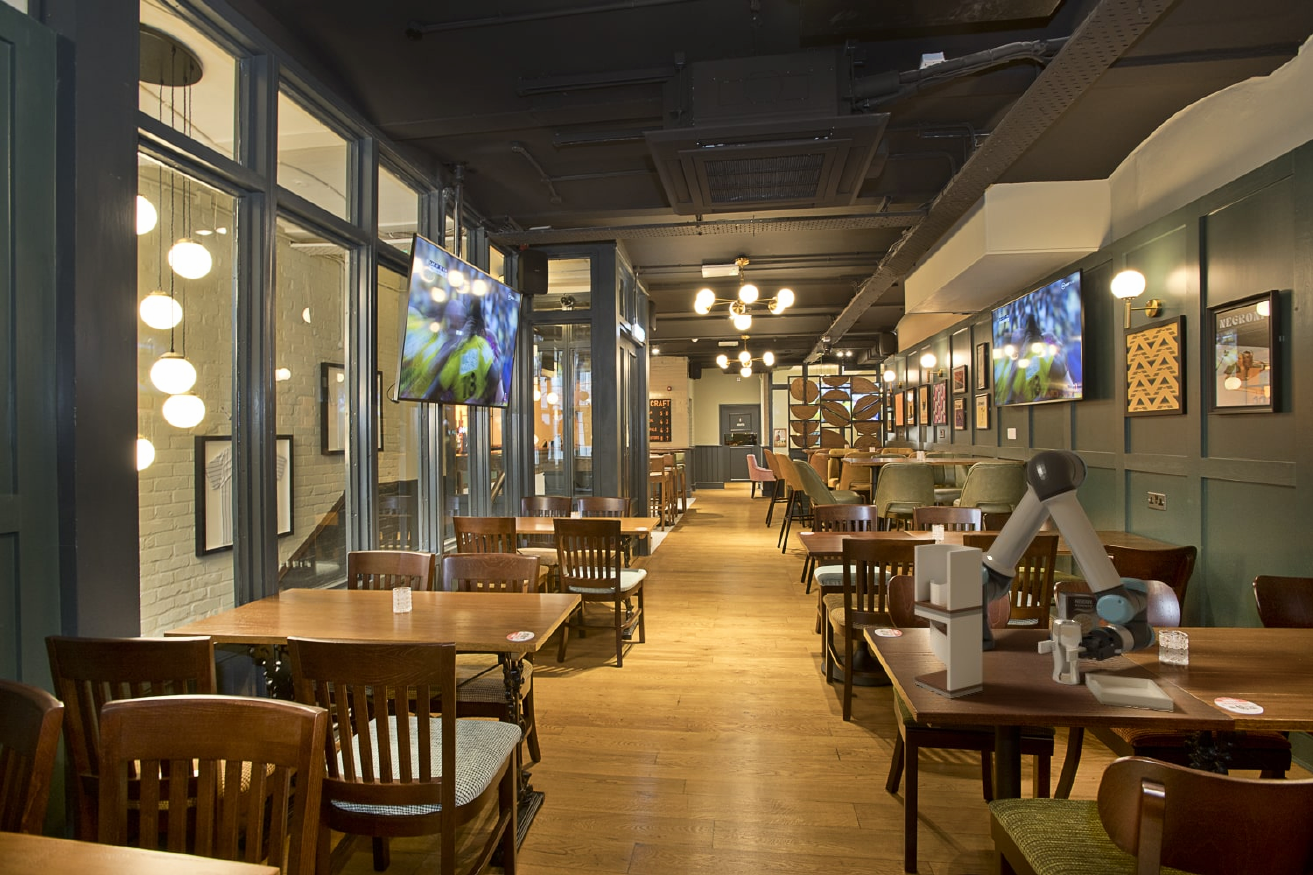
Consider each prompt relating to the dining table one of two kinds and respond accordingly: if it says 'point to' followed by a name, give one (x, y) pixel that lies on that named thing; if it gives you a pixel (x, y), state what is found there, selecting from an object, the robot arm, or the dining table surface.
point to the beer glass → (1063, 639)
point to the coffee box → (1079, 609)
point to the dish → (1128, 692)
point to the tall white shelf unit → (951, 615)
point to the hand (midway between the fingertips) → (1053, 651)
